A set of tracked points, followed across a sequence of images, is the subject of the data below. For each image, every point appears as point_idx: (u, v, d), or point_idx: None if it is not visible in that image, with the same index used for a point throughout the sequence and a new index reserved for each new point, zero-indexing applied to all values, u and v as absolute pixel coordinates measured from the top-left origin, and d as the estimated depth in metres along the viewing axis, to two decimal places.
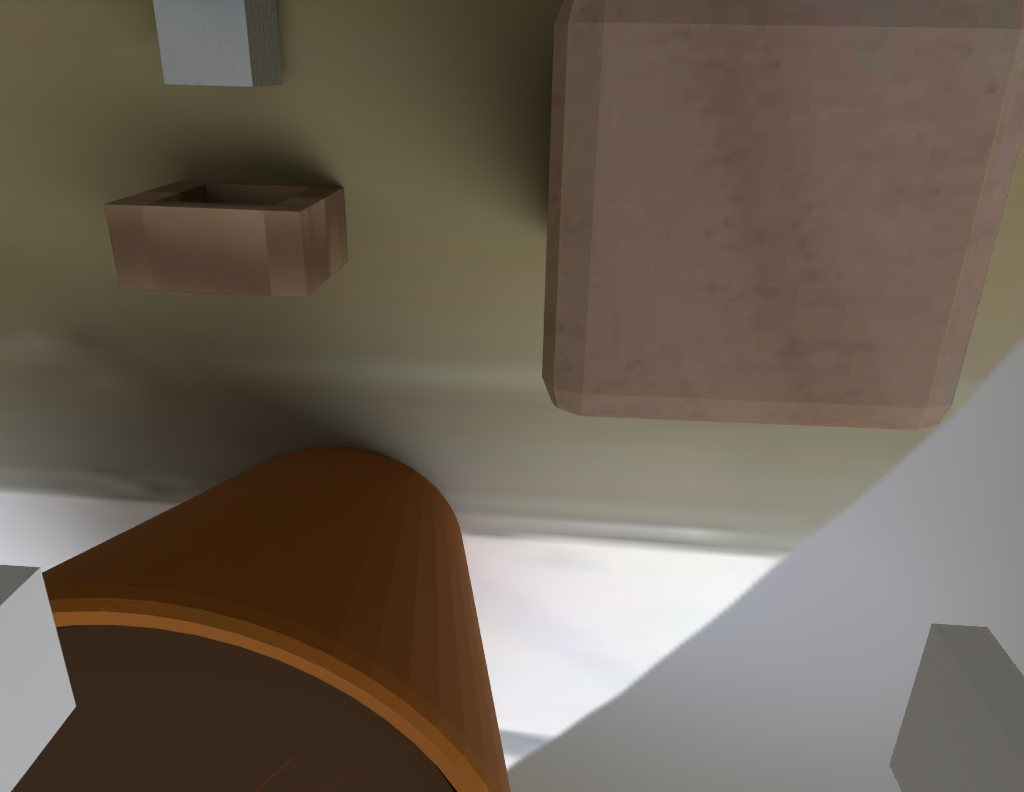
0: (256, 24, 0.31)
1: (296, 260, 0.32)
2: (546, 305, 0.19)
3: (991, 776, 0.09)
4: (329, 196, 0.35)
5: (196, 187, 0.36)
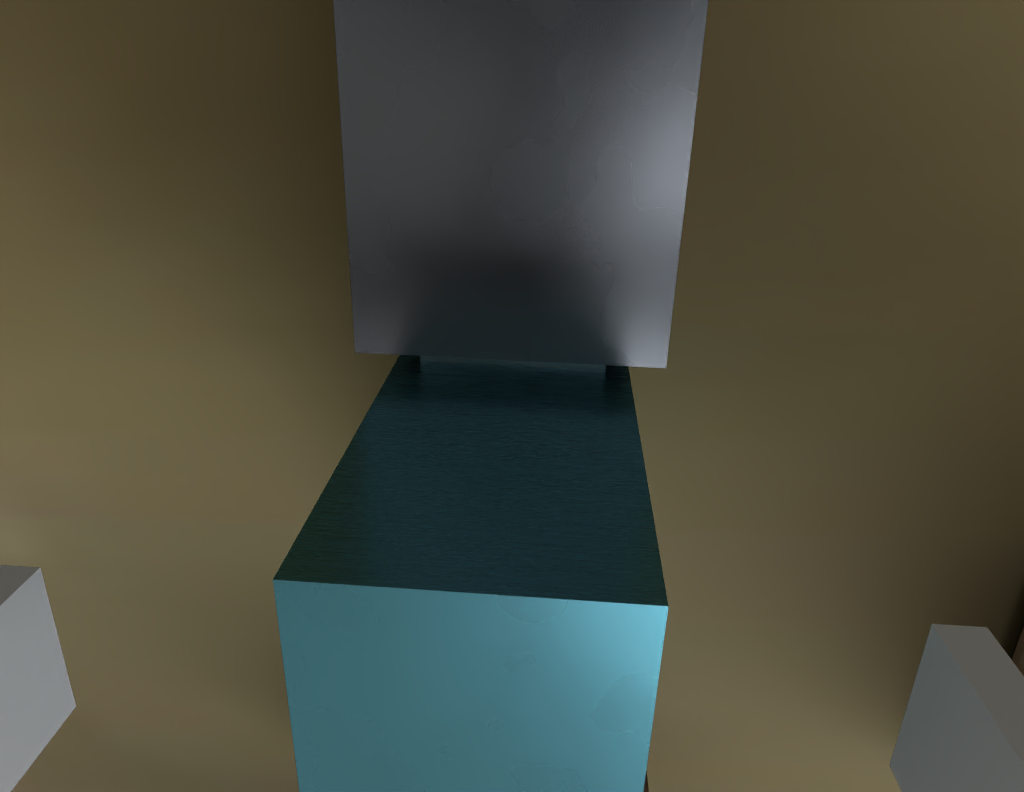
0: None
1: None
2: None
3: (990, 776, 0.09)
4: None
5: None
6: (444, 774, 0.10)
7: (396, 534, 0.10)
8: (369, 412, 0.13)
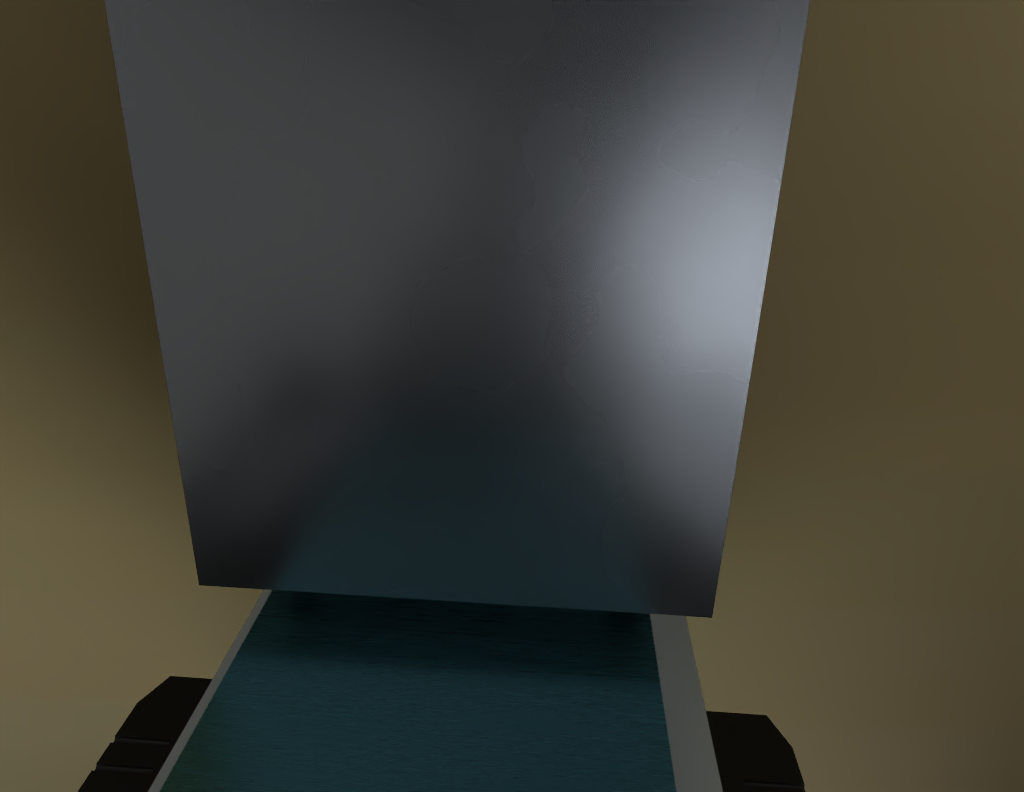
0: None
1: None
2: None
3: None
4: None
5: None
6: None
7: None
8: (201, 722, 0.07)
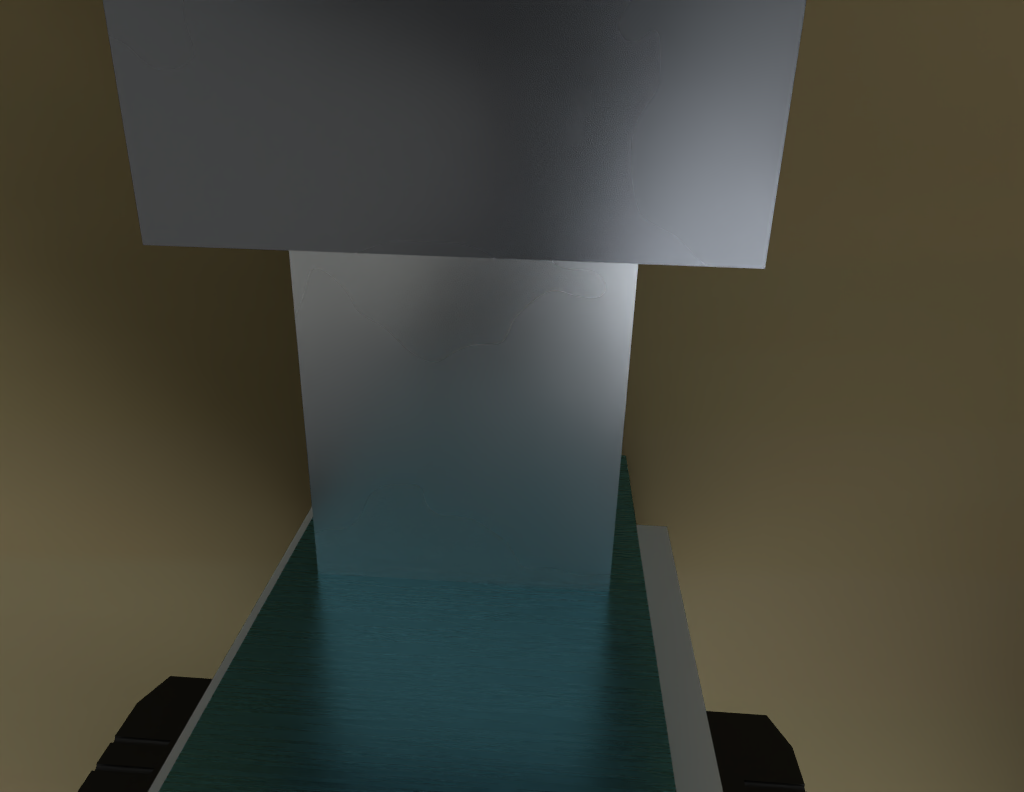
0: None
1: None
2: None
3: None
4: None
5: None
6: None
7: None
8: (201, 721, 0.07)
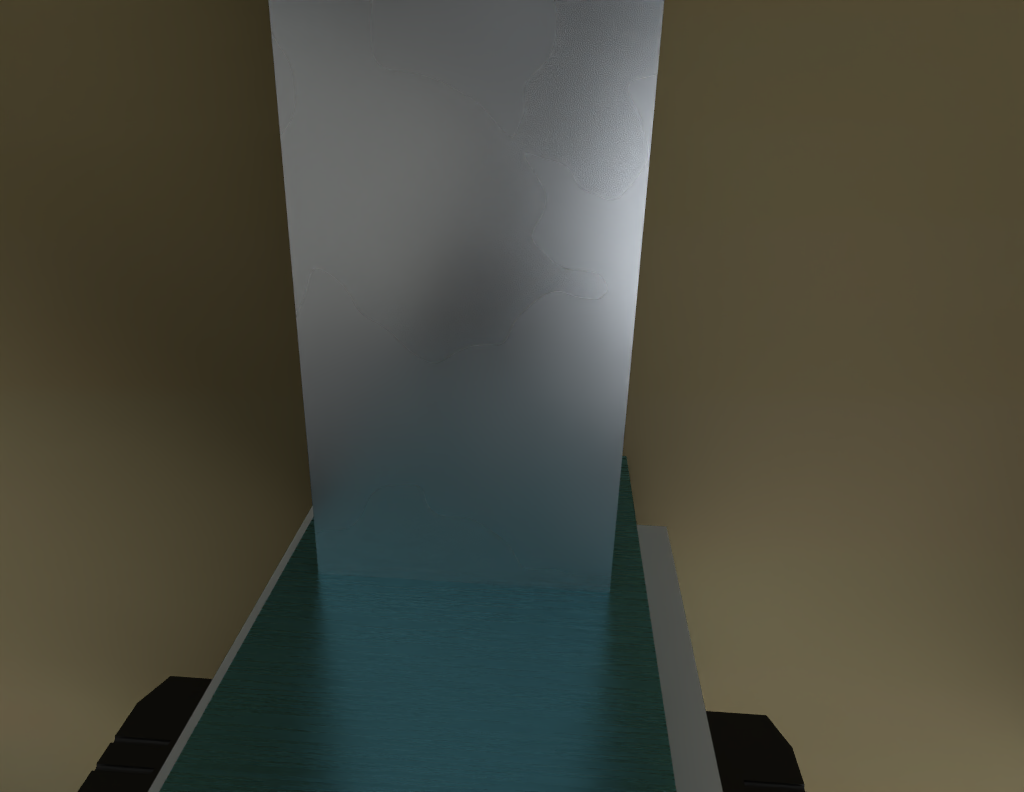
0: None
1: None
2: None
3: None
4: None
5: None
6: None
7: None
8: (201, 721, 0.07)
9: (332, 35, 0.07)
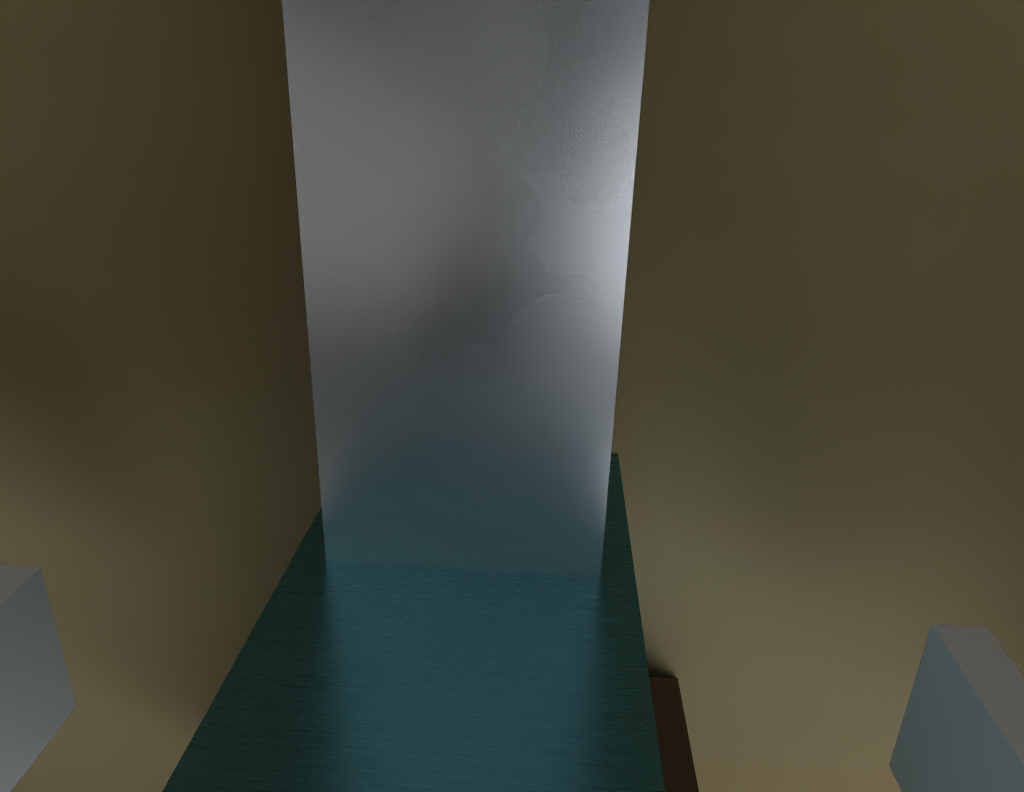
0: None
1: None
2: None
3: (990, 775, 0.09)
4: (694, 773, 0.14)
5: None
6: None
7: None
8: (219, 694, 0.08)
9: (342, 59, 0.08)
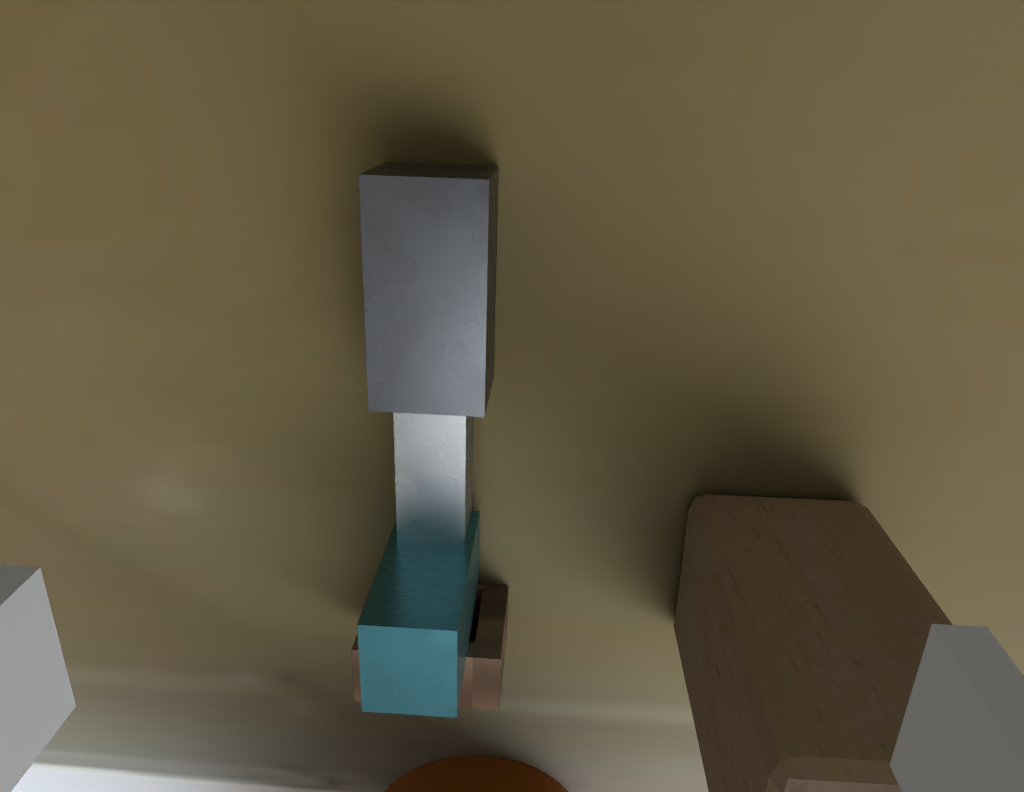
0: None
1: (493, 688, 0.42)
2: None
3: (991, 775, 0.09)
4: (505, 611, 0.45)
5: None
6: (401, 679, 0.36)
7: (388, 612, 0.36)
8: (379, 567, 0.39)
9: (405, 438, 0.39)
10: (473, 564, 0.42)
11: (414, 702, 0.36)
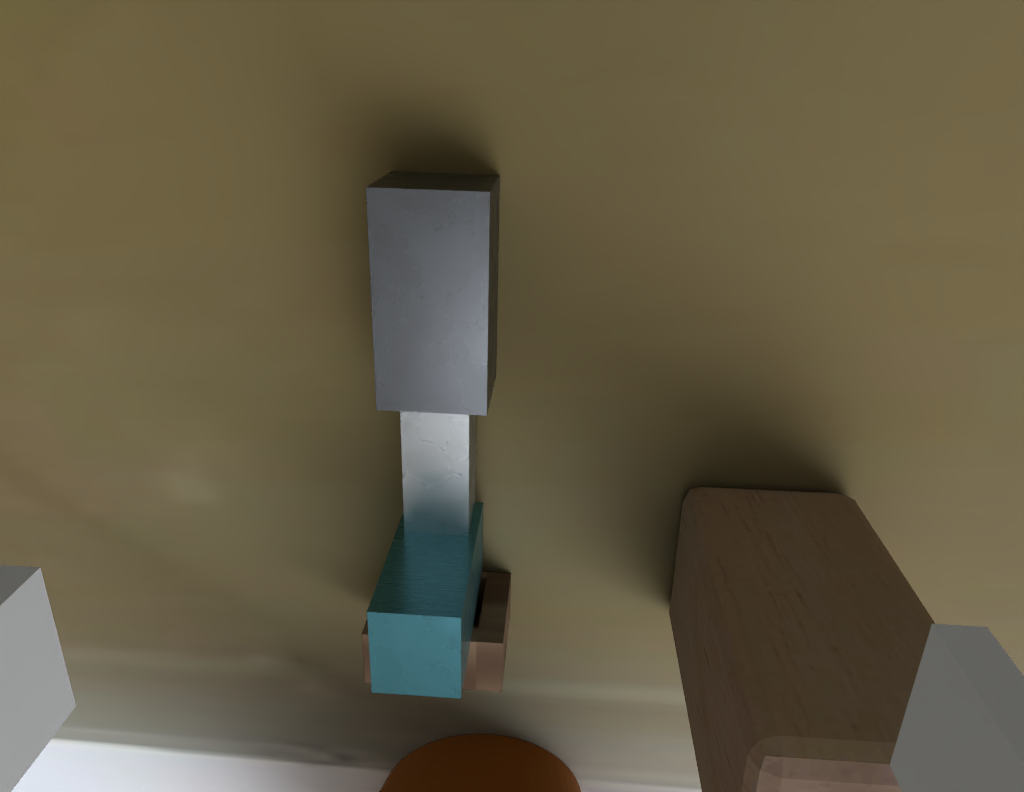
0: None
1: (496, 670, 0.44)
2: None
3: (991, 776, 0.09)
4: (508, 597, 0.47)
5: None
6: (409, 662, 0.38)
7: (396, 599, 0.38)
8: (387, 556, 0.41)
9: (411, 434, 0.41)
10: (477, 553, 0.44)
11: (421, 684, 0.39)
